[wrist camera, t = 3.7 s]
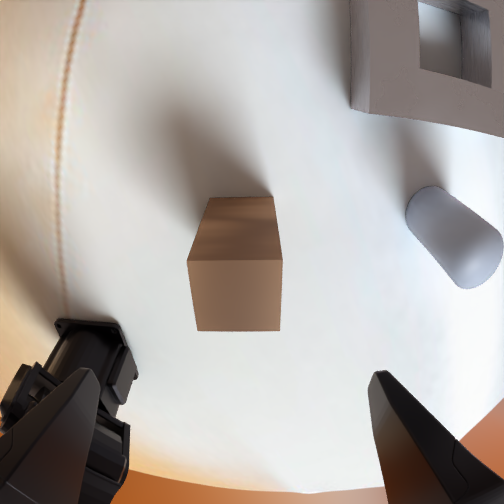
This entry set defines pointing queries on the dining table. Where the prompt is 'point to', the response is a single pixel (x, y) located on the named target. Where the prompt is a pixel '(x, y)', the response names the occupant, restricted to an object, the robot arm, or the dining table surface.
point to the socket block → (424, 81)
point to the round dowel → (455, 236)
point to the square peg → (237, 266)
